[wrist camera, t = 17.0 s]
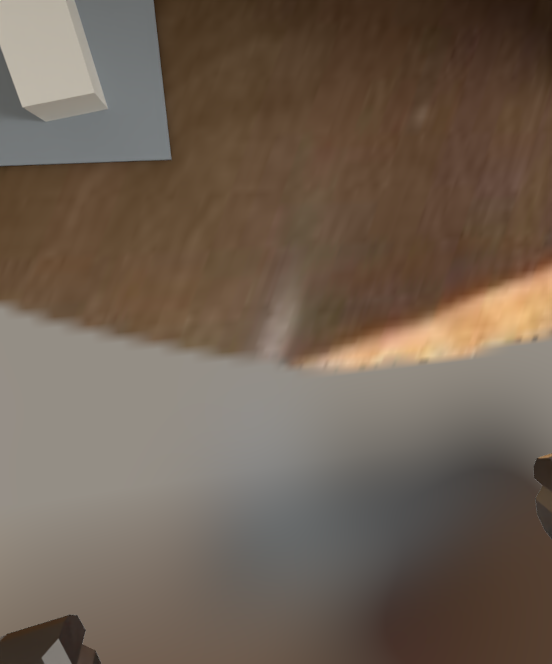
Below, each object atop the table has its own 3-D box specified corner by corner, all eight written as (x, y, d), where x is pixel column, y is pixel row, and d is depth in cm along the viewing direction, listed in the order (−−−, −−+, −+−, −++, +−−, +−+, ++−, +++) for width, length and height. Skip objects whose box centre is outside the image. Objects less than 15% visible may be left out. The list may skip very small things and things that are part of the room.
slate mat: (147, -57, 30) (146, -60, 30) (171, 159, 34) (171, 159, 34) (-78, -66, 28) (-81, -69, 28) (-26, 167, 32) (-28, 166, 31)
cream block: (108, 109, 32) (68, -19, 30) (94, 92, 28) (47, -58, 25) (45, 121, 31) (0, -7, 29) (22, 107, 27) (-33, -45, 25)
